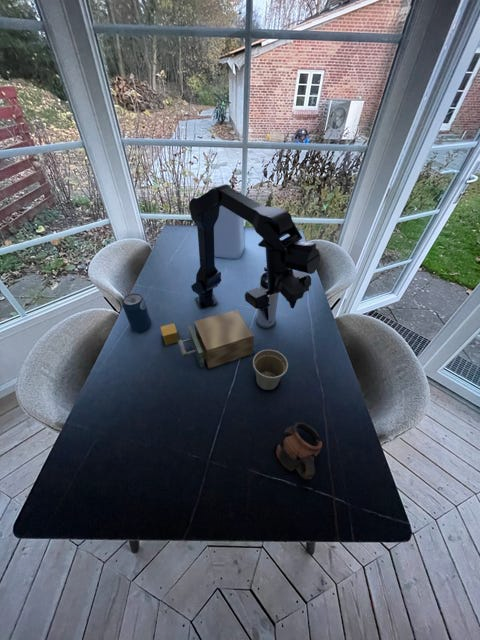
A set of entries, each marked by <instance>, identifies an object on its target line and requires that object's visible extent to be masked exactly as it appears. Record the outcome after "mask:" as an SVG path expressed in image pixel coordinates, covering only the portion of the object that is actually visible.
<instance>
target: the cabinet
mask: <svg viewBox="0 0 480 640" xmlns="http://www.w3.org/2000/svg"><path fill="white" fill-rule="evenodd" d="M193 325H194V332H195V335H196V337H197V339H198V334H197V330H198V333H199V335H200V337H201V340H202V342H203V344H204V346H205V349H206V353H207V359H206V357H205V354H204V352H203V357H204V362H205V363H206V366H207V368H208V369H212V368H215V367H218V366H221V365H224V364H226V363H230V362H233V361H237V360H239V359H242V358H245V357H249V356H252V355H253V352H254V340H255V335H254V333H253V332H252V330H251V328H250V327H249V325H248V324H247V322H246V321H245V319H244V318H243V315H242V314H241V313H240V312H239V310H238V309H235V310H230V311H227V312H223V313H220V314H216V315H212V316H208V317H204V318H200V319H198V320H194V321H193ZM198 342H199V340H198ZM199 344H200V343H199ZM200 346H201V345H200ZM201 349H202V347H201ZM202 351H203V350H202Z"/></svg>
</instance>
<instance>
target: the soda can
mask: <svg viewBox="0 0 480 640" xmlns="http://www.w3.org/2000/svg"><path fill="white" fill-rule="evenodd" d="M122 309H123V311H124V313H125V317H126V319H127V321H128V324H129V327H130V328H131V329H132V330H134V331H135V332H145V331H147V330H148V329H149V327H150V326H151V324H152V319H151V316H150V312H149V309H148V306H147V302H146V300H145V298H144V297H143V296H142V295H141V294H140V293H130V294H127V295H126V296H124V298H123V299H122Z"/></svg>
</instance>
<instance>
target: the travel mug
mask: <svg viewBox="0 0 480 640" xmlns="http://www.w3.org/2000/svg"><path fill="white" fill-rule="evenodd" d="M267 280H268V278H267V272H263V273H262V274H261V275H260V282H259V289H261V290H262V291H263V290H266V289H268V286H267V285H265V281H267ZM279 296H280V292H279V293H277V294H275V295H272V296H270V297H269V303H268V304H270V306H269V307H268V315H269V319H268V321H267V320H265V318H264V316H263V315H262V313H261V312H260V310H259V309H257V314H256V324H257V325H258V326H259V327H261V328H264V329H270V328H271V327H273V326H274V325H275V320H276V314H277V308H278V301H279Z"/></svg>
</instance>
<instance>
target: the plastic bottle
mask: <svg viewBox="0 0 480 640" xmlns="http://www.w3.org/2000/svg"><path fill="white" fill-rule="evenodd" d="M244 224H245V223H244V219H243V218H241V217H240V216H238V215H236V214H235V213H233V212H231V211H230V210H228V209H226V208H225V207H223V206H220V209H219V217H218V219H217V221H216V223H215V225H214V252H215V257H216V258H221V259H222V258H223V259H228V260H229V259H231V260H235V259H239V258H241V257H242V255H243V252H244V250H245V225H244Z"/></svg>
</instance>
